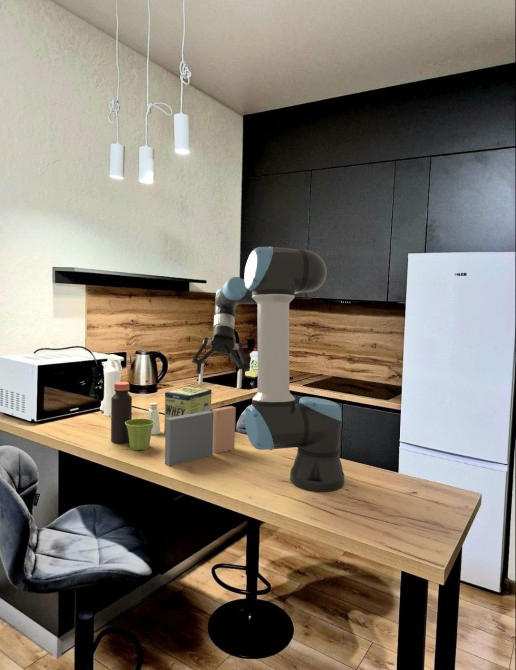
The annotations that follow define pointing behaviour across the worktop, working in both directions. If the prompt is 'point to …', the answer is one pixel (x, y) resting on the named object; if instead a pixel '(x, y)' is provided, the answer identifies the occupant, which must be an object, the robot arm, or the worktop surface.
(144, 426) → the plant pot
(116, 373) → the white spray bottle
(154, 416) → the pepper shaker
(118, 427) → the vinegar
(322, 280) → the robot arm
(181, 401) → the protein box
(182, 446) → the board
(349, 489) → the worktop surface
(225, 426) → the stub
